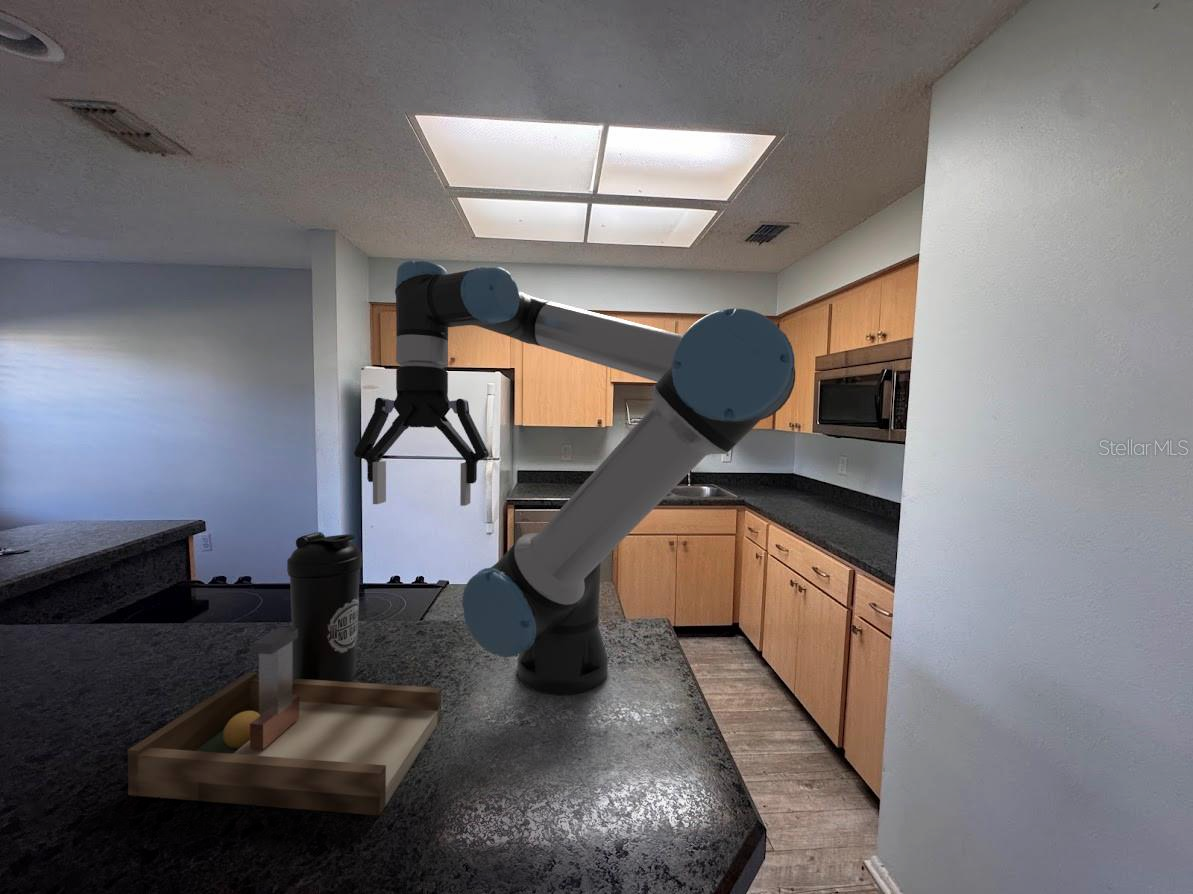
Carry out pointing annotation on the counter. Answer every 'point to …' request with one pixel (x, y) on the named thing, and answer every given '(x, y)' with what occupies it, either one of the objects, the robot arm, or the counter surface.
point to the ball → (239, 729)
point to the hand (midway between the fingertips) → (422, 503)
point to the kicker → (274, 687)
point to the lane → (292, 748)
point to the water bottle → (325, 606)
